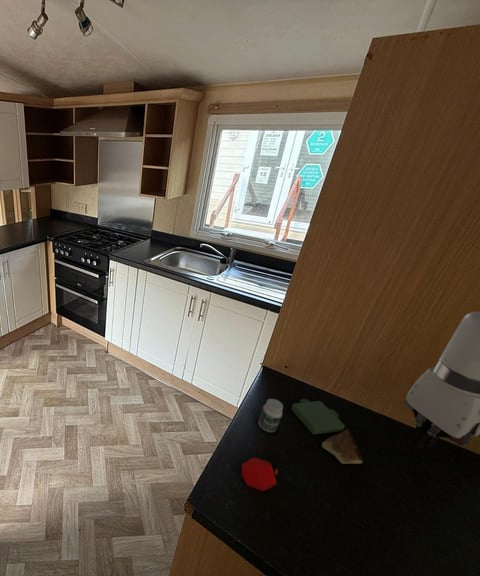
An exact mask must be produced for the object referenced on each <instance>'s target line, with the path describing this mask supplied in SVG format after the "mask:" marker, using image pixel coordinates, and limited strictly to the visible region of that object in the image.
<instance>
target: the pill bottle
mask: <svg viewBox="0 0 480 576" xmlns="http://www.w3.org/2000/svg"><path fill="white" fill-rule="evenodd" d="M261 409H262V410H261V412H260V415H259V417H258V426H259V428H261V429H262V430H263V431H266V432H267V433H275V432H276V431H277V429H278V427H279V424H280V422H281V420H282V417H283V410H284V405H283V403H282V402H281V401H279V400H278V399H276V398H268V399H267V400H266V402H265V403H264V405H263V406H262V408H261Z"/></svg>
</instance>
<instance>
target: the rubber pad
mask: <svg viewBox="0 0 480 576" xmlns="http://www.w3.org/2000/svg"><path fill="white" fill-rule="evenodd" d="M290 410H291V411H292V412H293V413H294V414H295V416H296V417H297V418H298V419H299V420H300V422H302V424H303V425H304V427H306V428H307V430H308V431H309V432H310V433H311V434H312V435H322V434H331V433H341V432H343V431H344V430H345V427H346V425H345V424H344V423H343V422H342V421H341V419H339V417H340V414H339V413H337V412H336V410H334V409H333V408H332V409H331V408H330V409H329V408H328V407H327V406H326V405H325V404H324V402H322V401H321V400H315V401H310V400H309V399H308V398H302V399H299V401H298V402H297V403H292V404H291V407H290Z"/></svg>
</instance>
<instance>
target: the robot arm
mask: <svg viewBox="0 0 480 576" xmlns="http://www.w3.org/2000/svg"><path fill="white" fill-rule="evenodd" d="M404 404H405V406H407V407H408V408H409V410H411V411H412V413H413V416H414V418H415V421H414V424H415V428H414V430H413V431H412V436H411V438H410V442H412V443H413V444H415V446H416V447H418V448H422V447H428V448H430V447H433V446H434V445H435V444H436V443H437V442H438V440H439V438H444V439H449V440H450V441H452V442H453V443H455V444H457V445H459V446H468V445H469V444H470V440H471V437H472V436H473V437H478V436H480V310H477V311H472V312H469V313H467V314H465V315H464V316H463V318H462V319H461V321H460V322H459V325H458V326H457V328H456V330H455V331H454V333H453V335H452V336H451V338H450V340H449V342H448V343H447V345H446V346H445V348H444V350H443V351H442V354H441V355H440V357H439V359H438V360H437V362H436V364H435V365H433V366H430V367H429V368H427V370H425V372H423V373H422V374H421V375H420V376H419V377H418V379H417V380H416V381H415V382H414V383H413V385H412V386H411V387H410V390H408V392H407V394H406V398H405V401H404Z"/></svg>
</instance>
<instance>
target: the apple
mask: <svg viewBox="0 0 480 576" xmlns="http://www.w3.org/2000/svg"><path fill="white" fill-rule="evenodd" d="M278 472H279V469H278V468H275V469H273V466H272V463H271V462H270V461H266V460H263V459H260V458H258V457H252V458H250V459H248V460H247V461H245V462H243V463H241V473H240V475H241V477H242V479H243V481H244V482H245V484H246V486H248V487H251V488H253V489H256V490H258V491H260V492H265V491H267V490H268V489H271V488H272V487H275V486H276V485H277V478H276V475H278Z"/></svg>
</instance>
